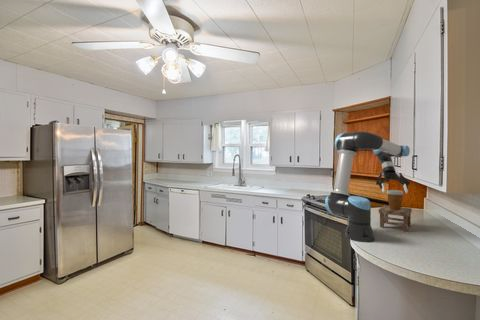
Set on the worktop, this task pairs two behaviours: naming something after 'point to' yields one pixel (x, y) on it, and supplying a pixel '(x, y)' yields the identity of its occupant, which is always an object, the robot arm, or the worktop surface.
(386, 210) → the walnut stool
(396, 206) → the disposable coffee cup
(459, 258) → the worktop surface
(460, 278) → the worktop surface
